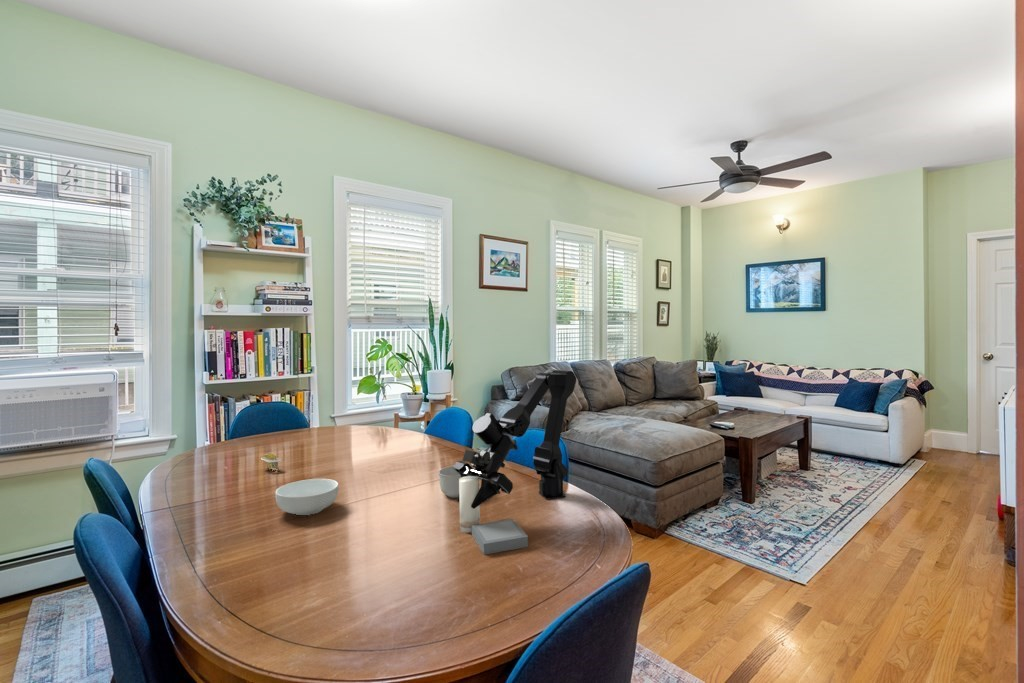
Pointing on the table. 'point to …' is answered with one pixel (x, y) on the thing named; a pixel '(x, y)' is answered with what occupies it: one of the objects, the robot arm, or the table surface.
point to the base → (499, 536)
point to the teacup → (449, 481)
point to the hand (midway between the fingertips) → (465, 504)
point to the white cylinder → (468, 503)
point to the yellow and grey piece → (271, 460)
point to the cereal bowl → (307, 496)
